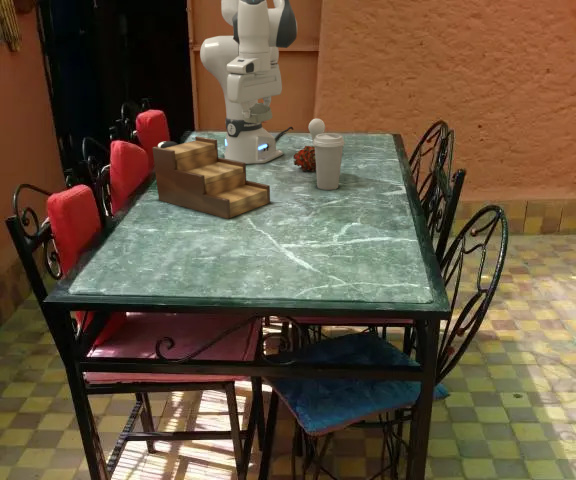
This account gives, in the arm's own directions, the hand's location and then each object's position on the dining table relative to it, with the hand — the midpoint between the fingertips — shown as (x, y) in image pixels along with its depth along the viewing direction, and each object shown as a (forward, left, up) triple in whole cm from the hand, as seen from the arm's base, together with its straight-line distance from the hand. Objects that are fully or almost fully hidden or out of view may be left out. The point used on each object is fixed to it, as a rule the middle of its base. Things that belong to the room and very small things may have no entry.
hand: (256, 115), depth 187 cm
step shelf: (+19, -1, -21) cm, 28 cm away
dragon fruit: (-25, 0, -21) cm, 33 cm away
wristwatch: (0, 0, -2) cm, 2 cm away
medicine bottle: (+12, -27, -21) cm, 36 cm away
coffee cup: (-13, +17, -21) cm, 30 cm away
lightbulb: (-50, -15, -21) cm, 56 cm away
